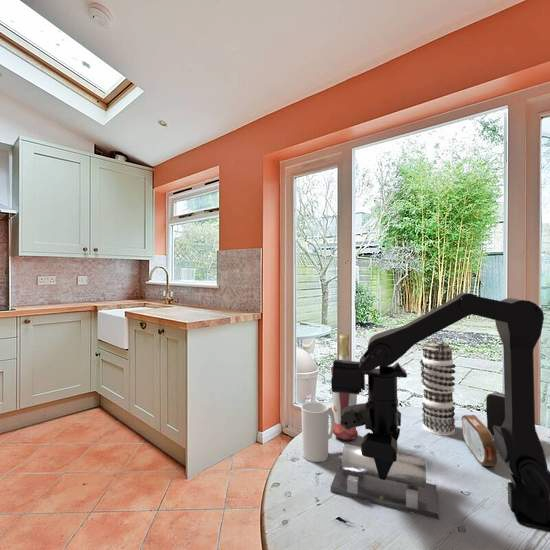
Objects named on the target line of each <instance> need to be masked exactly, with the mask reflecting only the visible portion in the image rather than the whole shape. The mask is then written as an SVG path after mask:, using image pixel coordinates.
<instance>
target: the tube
mask: <svg viewBox="0 0 550 550" xmlns="http://www.w3.org/2000/svg"><path fill="white" fill-rule="evenodd" d="M341 464H342V468H343V470H346V471H351V472H355V473H359V474H364V475H368V476H373V477H377V478H379V475H378V471H377V468H376V464H375V461H374V458H370V457H365V456H363V455H362V454H361V446H358V445H353V444H348V443H344V445H343V449H342V455H341ZM386 480H390V481H395V482H399V483H404V484H408V485H413V486H417V487H422V488H426V483H427V464H426V459H424V458H421V457H415V456H411V455H404V454H400V453H397V461H396V462H393V464H392V466H391V468H390V470H389V473H388V475H387V477H386Z"/></svg>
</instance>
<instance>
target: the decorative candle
mask: <svg viewBox="0 0 550 550" xmlns="http://www.w3.org/2000/svg"><path fill="white" fill-rule="evenodd" d="M421 347H422V350H423V351H422V352H423V353H422V355H423V356H422V359H420V362H419V364H420V365H421V366H420V371H421V373H420V375H421V388H422V389H423V396H422V397H423V399H422V403H421V405H422V408H421V410H422V412H423V413H422V414H421V416H422V419H421V421H422V428H423V429H424V431H426V432H428V433H430V434H433V435H437V436H445V437H446V436H447V437H448V436H453V435H454V434H455V433H456V429H455V428H456V424H455V421H456V419H455V415H456V413H455V409H456V407H455V405H454V399H453V393H454V392H455V388H454V386H456V382H454V381H455V380H456V377H455V376H453V375H454V374H455V373H456V370H455V369H454V368H456V365H455V364H454V363H453V362H454V361H453V347H451V346H450V345H449V343H447V342H446V341H445V342H444V341H439V340H429V341H426V342H425V344H424V345H422V346H421Z"/></svg>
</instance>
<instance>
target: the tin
mask: <svg viewBox="0 0 550 550" xmlns="http://www.w3.org/2000/svg"><path fill="white" fill-rule="evenodd" d="M461 427H462V428H461V429H462V436H463V437H462V438H463V440H464V442H465V445H466V446H467V448H468V449H469V451H470V453H471V454H472V455H473V456H474V458H475V459H476V460H477V462H478V463H479V464H480V465H481V466H485V467H493V468H495V467H496V466H497V464H498V451H497V450H496V448H495V447H494V446H493V441H494V437H493V435H492V434H491V433H490V431H489V430H488V428H487V425H485V424H484V423H483V422H482V421H481V420H480V419H479V418H478V417H477V415H475V414H464V415H462V416H461Z"/></svg>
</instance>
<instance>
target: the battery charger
mask: <svg viewBox="0 0 550 550" xmlns="http://www.w3.org/2000/svg"><path fill="white" fill-rule="evenodd" d="M485 408H486V409H485V410H486V411H485V412H486V427H487V428H488V430H489V431H490V433H491V435H492V436H494V431H493V425H495V426H499V427H501V426H502V424H503V422H504V420H505V393H500V392H490V393H489V394H487V396H486V400H485Z"/></svg>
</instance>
